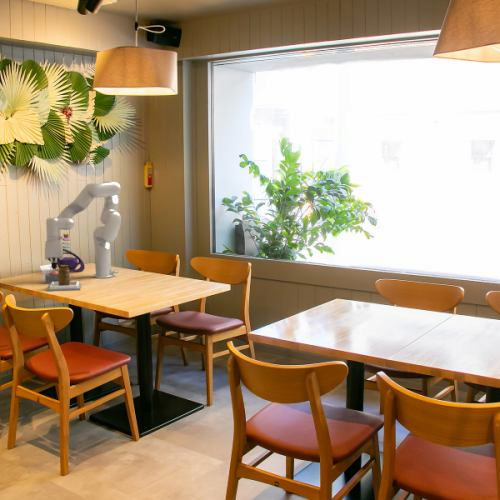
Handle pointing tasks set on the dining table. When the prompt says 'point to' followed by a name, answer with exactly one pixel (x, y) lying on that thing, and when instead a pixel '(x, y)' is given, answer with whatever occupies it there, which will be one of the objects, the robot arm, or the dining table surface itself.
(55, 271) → the button
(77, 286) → the tray
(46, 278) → the button housing
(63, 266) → the condiment
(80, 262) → the decorative bottle
